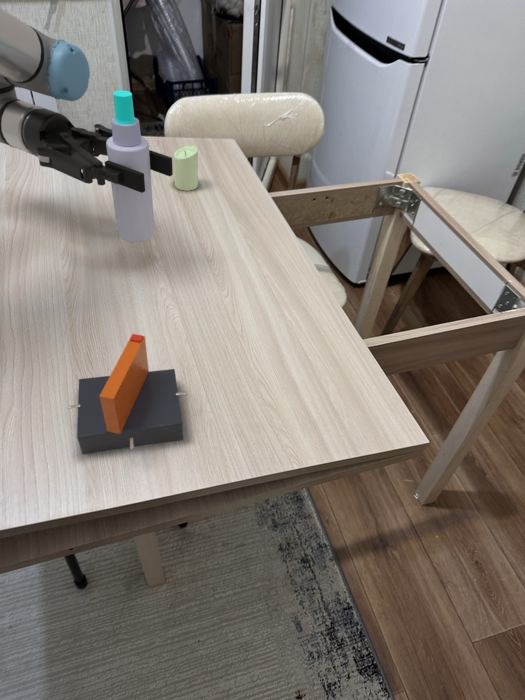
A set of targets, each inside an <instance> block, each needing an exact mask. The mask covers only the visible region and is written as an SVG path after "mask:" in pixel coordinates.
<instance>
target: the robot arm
mask: <svg viewBox="0 0 525 700" xmlns="http://www.w3.org/2000/svg"><path fill="white" fill-rule="evenodd" d="M90 70H91V69H90V64H89V61H88V59H87V56H86V55H85V53H84V51H83V50H82V49H81V48H80V47H79V46H78V45H76V44H73V43H70V42H67V41H66V40H64V39H61V38H60V39H55V38H53V37H50V36H48V35H47V34H44V33H43V32H42V31H39V30H38V29H36V28H35V27H32V26H31V25H29V24H27V23H26V22H25V21H23V20H21V19H20V18H18V17H16V16H14V15H13V14H12V13H10V12H8V11H7V10H5V9H4V8H2V7H0V143H1V144H4V145H7V146H9V147H11V148H14V149H17V150H20V151H22V152H25V153H27V154H30V155H32V156H34V157H36V158H38V162H39V166H41V167H44V168H49V169H53V170H55V171H57V172H60V173H62V174H65V175H67V176H69V177H71V178H73V179H75V180H77V181H80V182H82V183H84V184H90V185H91V184H92V183H93V182H94V180H96V182H97V183H96V184H97V185H98V186H104V185H106V182H110V183H111V182H112V183H115V184H120V185H122V186H125V187H128V188H130V189H133V190H135V191H138V192H141V193H143V192H145V181H144V173H142V172H139V171H136V170H133V169H131V168H128V167H125V166H122V165H120V164H117V163H114V162H111V161H109V160H108V159H107V160H106V161H104V163H103V161H101V160H100V159H99V158H98V157H99V156H107V157H108V154H107V147H106V142H107V140H108V139H109V138H110V137H112V128H108V127H106V126H105V125H103V124H101V123H96V124H94V126H93V127H94V129H92V130H87V128H84V127H82V128H81V127H76V126H75V125H74V124H73V123H72V121H70V119H69V118H68V117H67V116H66V115H64V114H63V113H60V112H56V111H53V110H50V109H48V108H45V107H42V106H40V105H36V104H34V103H30V102H27V101H24V100H22V99H20V98H18V96H17V93H16V88H19V89H24V90H26V91H27V90H28V91H31V92H34V93H38V94H41V95H43V96H47V97H51V98H54V99H55V100H64V101H68V102H75V101H79V100H80V99H82V98H83V96H85V94H86V92H87V90H88V87H89V82H90V78H91V71H90ZM149 156H150V170H151V171H153V172H156V173H159V174H162V175H164V176H166V177H167V176H168V177H172V176H174V175H173V174H174V173H173V169H174V168H173V157H171V156H169V155H166V154H163V153H160V152H157V151H154V150H151V149H149Z"/></svg>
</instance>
